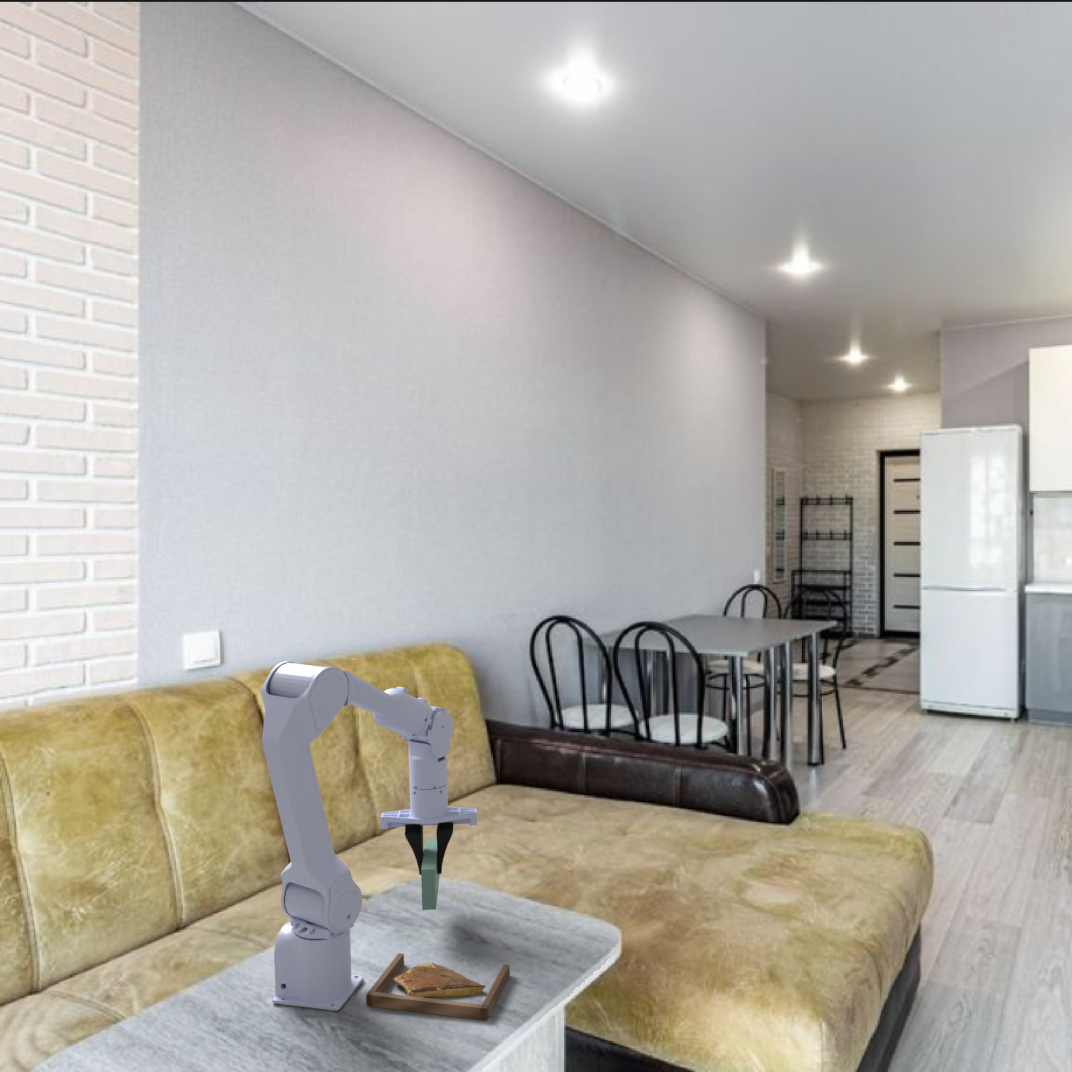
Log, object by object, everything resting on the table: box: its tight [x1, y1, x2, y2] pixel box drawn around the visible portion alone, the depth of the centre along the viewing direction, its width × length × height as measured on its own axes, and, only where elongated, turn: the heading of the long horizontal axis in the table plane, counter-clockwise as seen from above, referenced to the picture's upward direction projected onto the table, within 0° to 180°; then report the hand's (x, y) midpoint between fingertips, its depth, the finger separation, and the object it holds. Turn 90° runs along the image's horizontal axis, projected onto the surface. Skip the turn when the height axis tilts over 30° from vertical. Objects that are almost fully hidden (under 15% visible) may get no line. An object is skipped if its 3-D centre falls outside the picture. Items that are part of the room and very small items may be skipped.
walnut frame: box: [365, 952, 510, 1021], centre depth 118 cm, size 16×11×2 cm
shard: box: [393, 962, 486, 998], centre depth 117 cm, size 11×8×2 cm
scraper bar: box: [420, 837, 441, 911], centre depth 135 cm, size 12×2×6 cm, turn 4°
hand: (430, 871), depth 135 cm, fingers closed on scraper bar, 2 cm apart
